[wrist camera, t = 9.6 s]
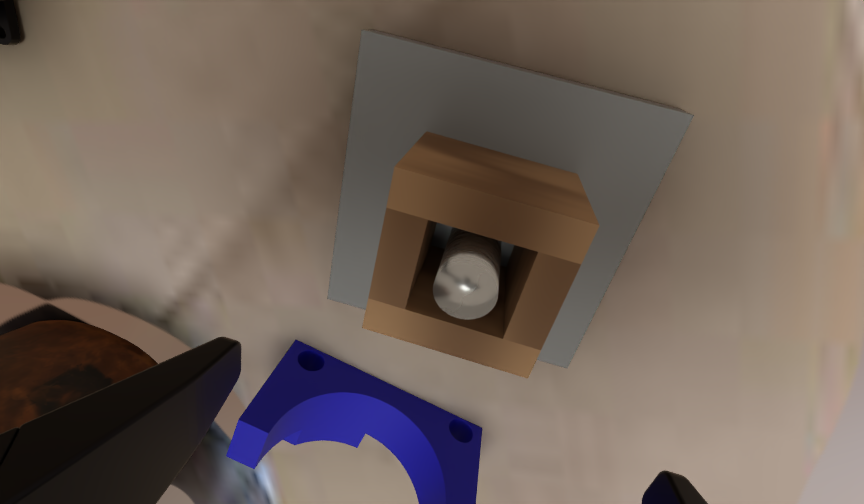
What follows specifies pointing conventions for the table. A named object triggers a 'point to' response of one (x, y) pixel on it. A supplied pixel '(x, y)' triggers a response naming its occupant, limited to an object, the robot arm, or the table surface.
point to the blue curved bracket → (360, 423)
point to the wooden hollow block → (488, 216)
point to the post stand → (504, 132)
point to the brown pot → (60, 367)
